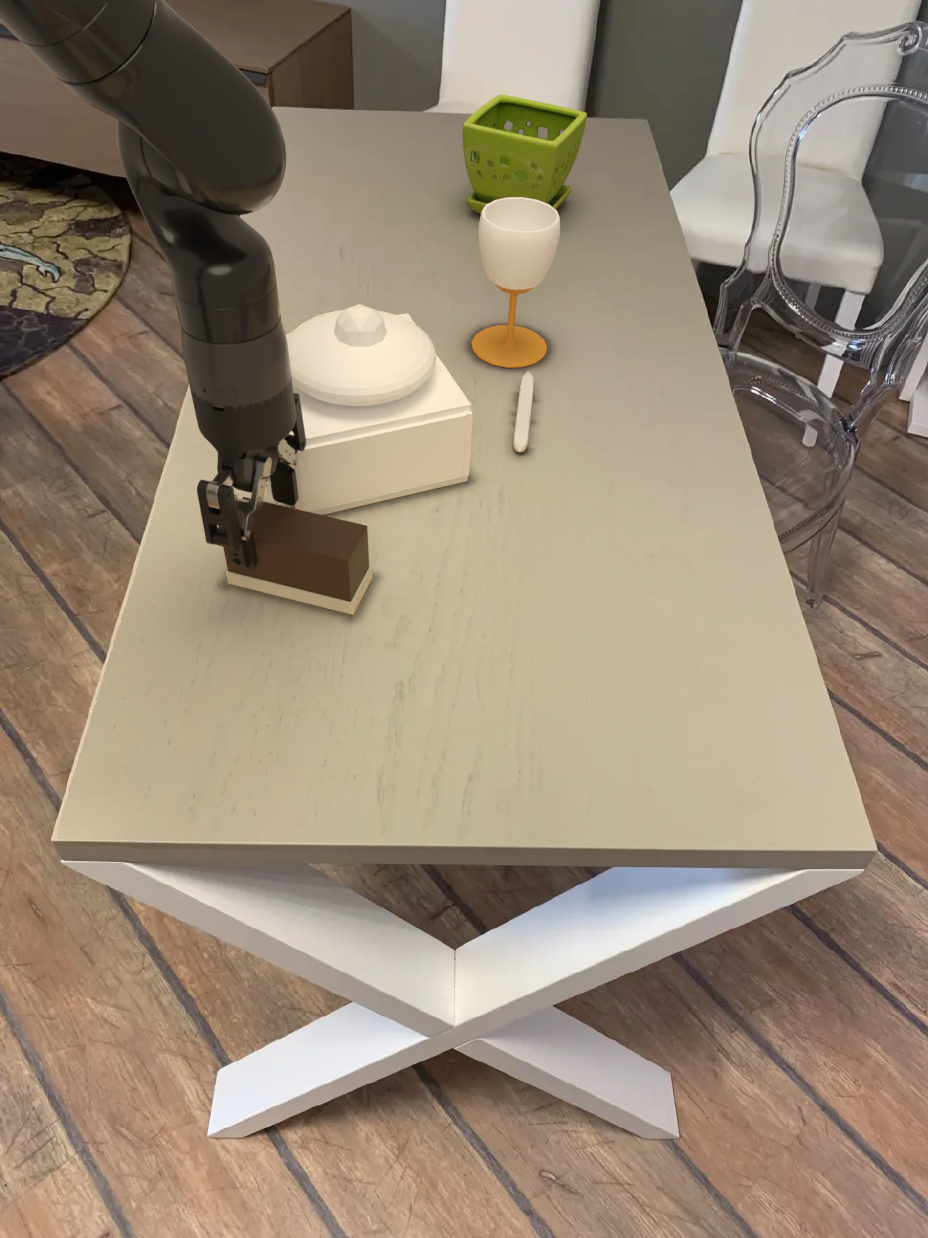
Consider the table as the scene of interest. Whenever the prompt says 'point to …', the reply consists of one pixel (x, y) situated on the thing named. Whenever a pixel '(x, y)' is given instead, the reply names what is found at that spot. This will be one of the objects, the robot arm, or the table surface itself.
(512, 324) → the cup
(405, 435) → the white lidded box
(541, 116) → the flower pot
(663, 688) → the table surface
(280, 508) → the brown block cream base
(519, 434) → the cream rounded rod
